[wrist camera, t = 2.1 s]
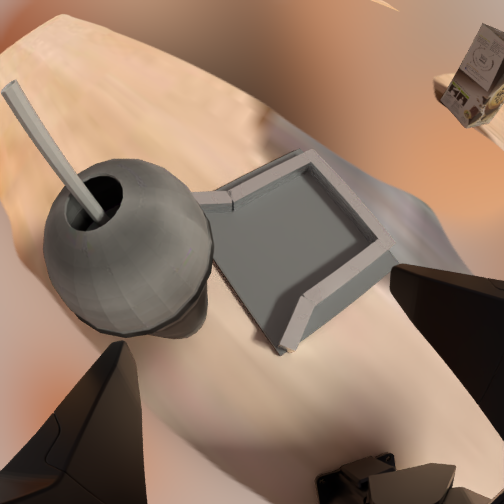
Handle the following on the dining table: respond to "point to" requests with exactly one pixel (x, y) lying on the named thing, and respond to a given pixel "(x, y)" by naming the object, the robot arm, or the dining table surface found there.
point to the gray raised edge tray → (290, 252)
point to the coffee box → (478, 80)
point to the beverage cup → (123, 241)
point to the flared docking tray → (342, 198)
